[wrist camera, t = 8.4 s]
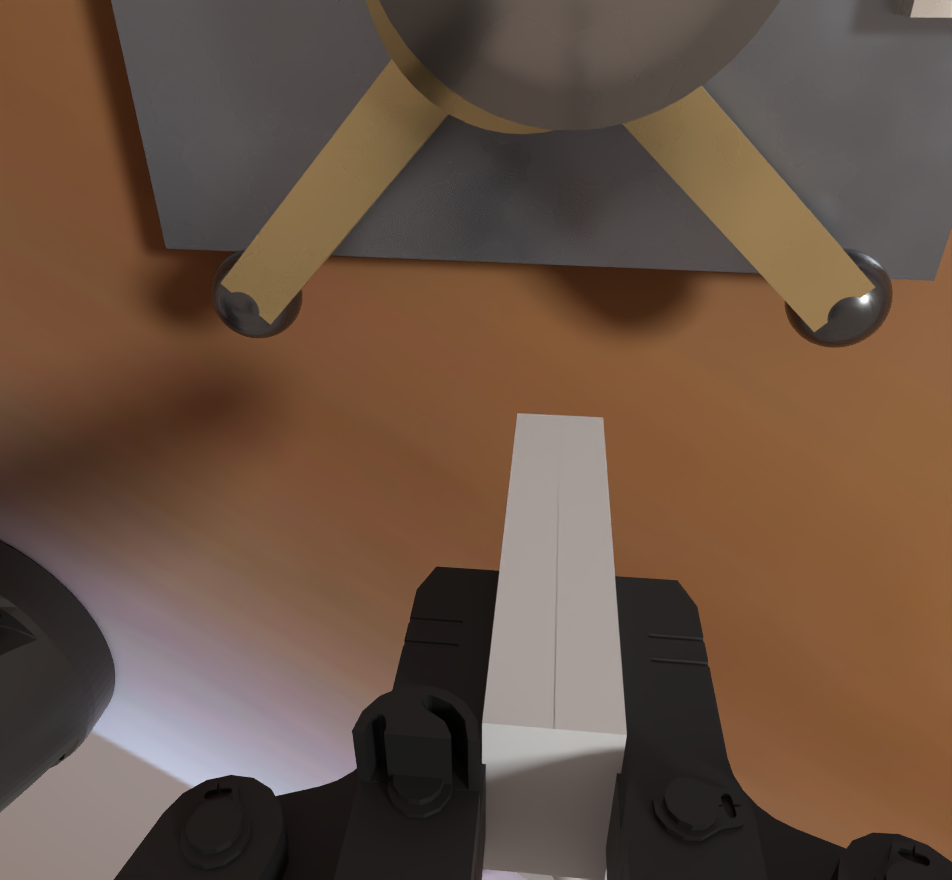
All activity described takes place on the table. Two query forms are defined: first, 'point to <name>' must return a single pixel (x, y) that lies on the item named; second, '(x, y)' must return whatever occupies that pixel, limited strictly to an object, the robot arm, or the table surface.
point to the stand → (546, 139)
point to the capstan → (560, 108)
